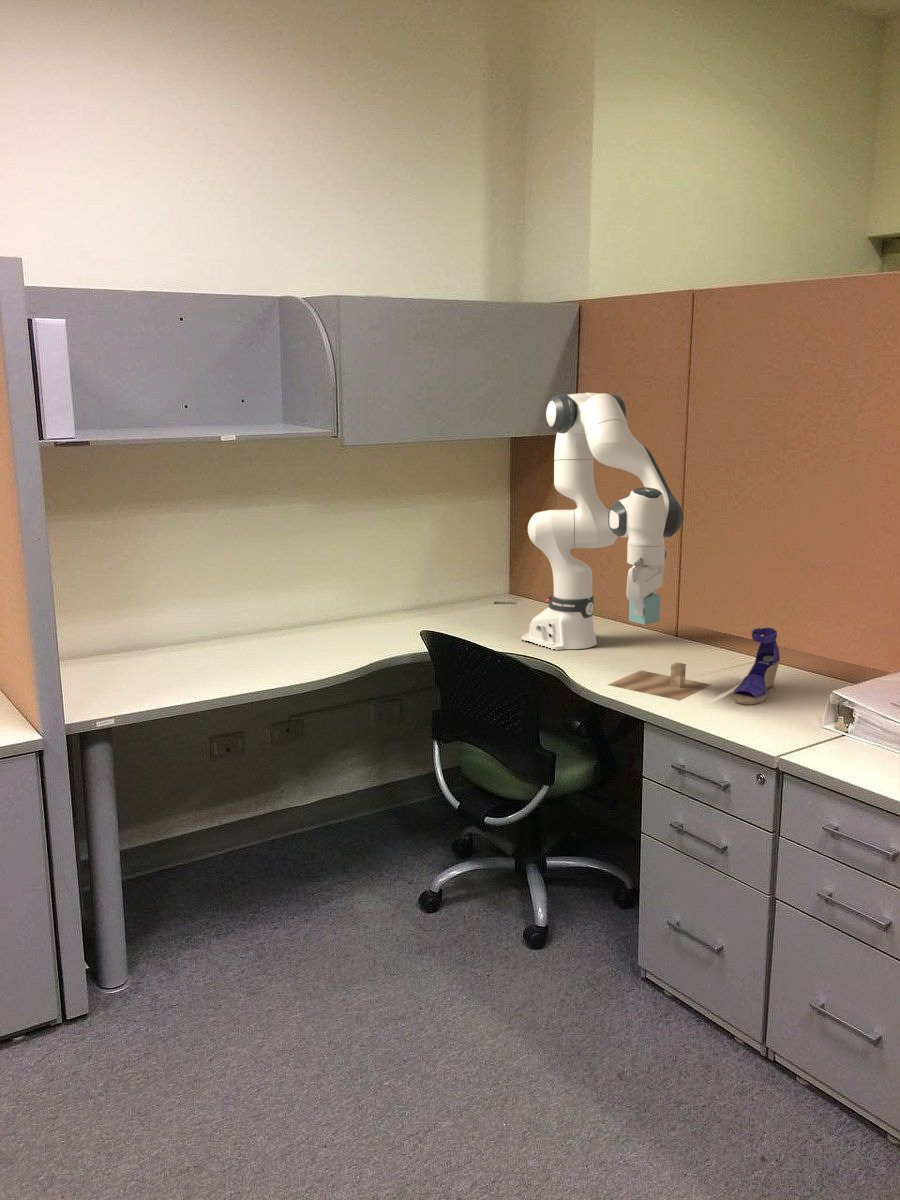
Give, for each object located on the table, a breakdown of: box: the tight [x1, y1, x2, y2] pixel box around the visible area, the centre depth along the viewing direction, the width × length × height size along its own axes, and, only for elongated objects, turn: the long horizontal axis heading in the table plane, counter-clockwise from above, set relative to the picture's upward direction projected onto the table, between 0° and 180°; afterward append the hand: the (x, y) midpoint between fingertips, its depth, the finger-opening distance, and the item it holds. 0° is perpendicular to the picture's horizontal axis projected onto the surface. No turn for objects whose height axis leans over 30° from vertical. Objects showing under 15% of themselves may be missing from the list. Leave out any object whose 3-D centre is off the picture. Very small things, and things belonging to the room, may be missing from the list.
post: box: [670, 661, 687, 688], centre depth 246 cm, size 3×3×6 cm
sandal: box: [732, 627, 781, 706], centre depth 240 cm, size 8×20×15 cm, turn 135°
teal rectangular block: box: [628, 593, 661, 625], centre depth 244 cm, size 5×5×7 cm
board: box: [607, 670, 712, 702], centre depth 248 cm, size 20×16×1 cm
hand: (644, 611), depth 244 cm, fingers closed on teal rectangular block, 7 cm apart
